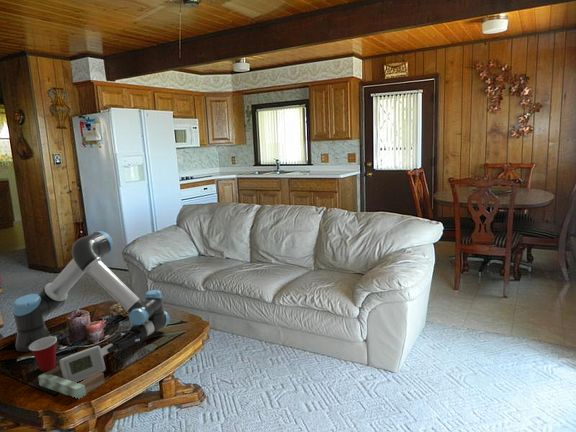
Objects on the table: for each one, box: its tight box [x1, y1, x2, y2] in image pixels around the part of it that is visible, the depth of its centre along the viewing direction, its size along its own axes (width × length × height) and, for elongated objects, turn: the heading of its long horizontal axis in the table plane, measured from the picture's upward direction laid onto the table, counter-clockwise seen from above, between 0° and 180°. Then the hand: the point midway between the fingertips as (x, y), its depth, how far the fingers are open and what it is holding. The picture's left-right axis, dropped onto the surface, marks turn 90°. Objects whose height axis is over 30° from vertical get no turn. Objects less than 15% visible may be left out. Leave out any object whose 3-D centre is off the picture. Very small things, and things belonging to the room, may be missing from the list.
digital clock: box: [58, 345, 107, 383], centre depth 180 cm, size 16×9×11 cm, turn 122°
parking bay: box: [37, 364, 106, 400], centre depth 175 cm, size 24×12×4 cm, turn 62°
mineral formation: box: [109, 302, 129, 318], centre depth 241 cm, size 8×13×15 cm
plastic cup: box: [29, 335, 58, 372], centre depth 188 cm, size 11×11×12 cm
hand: (99, 353), depth 186 cm, fingers closed
